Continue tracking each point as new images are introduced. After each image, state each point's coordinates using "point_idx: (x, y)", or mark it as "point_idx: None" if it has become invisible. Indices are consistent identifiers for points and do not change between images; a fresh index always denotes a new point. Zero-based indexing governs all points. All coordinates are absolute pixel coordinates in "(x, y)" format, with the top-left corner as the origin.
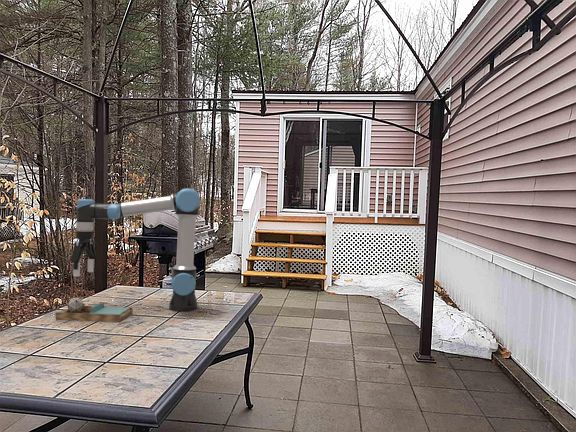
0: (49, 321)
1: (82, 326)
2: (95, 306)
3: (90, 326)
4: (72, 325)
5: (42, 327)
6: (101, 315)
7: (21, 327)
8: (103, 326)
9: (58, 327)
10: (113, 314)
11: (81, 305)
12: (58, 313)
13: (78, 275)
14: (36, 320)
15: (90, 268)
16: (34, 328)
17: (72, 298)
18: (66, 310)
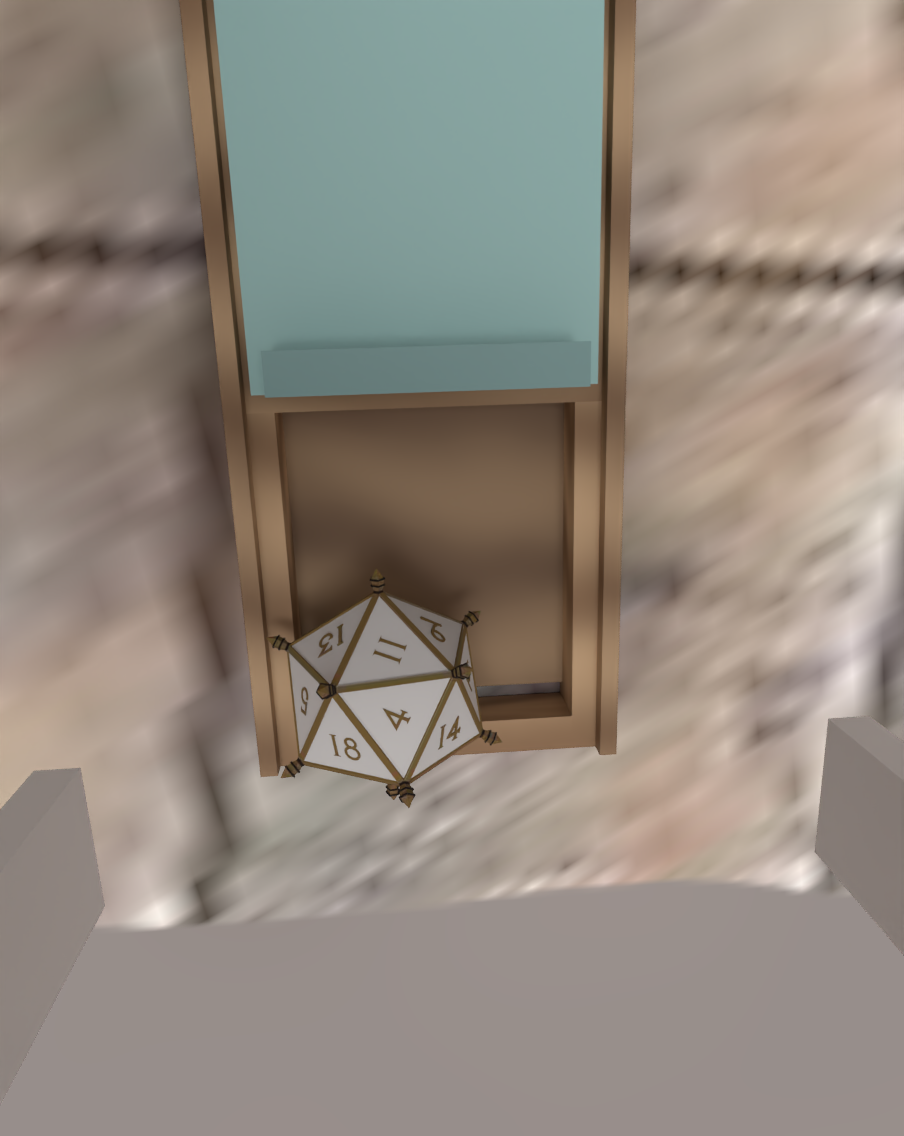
0: (663, 734)
1: (810, 328)
2: (524, 350)
3: (806, 241)
4: (781, 449)
5: (860, 674)
6: (627, 204)
7: None
8: (798, 89)
9: (855, 540)
10: (603, 34)
11: (404, 606)
12: (614, 723)
13: (882, 740)
14: (643, 855)
15: (44, 904)
16: (893, 717)
17: (406, 761)
18: None
